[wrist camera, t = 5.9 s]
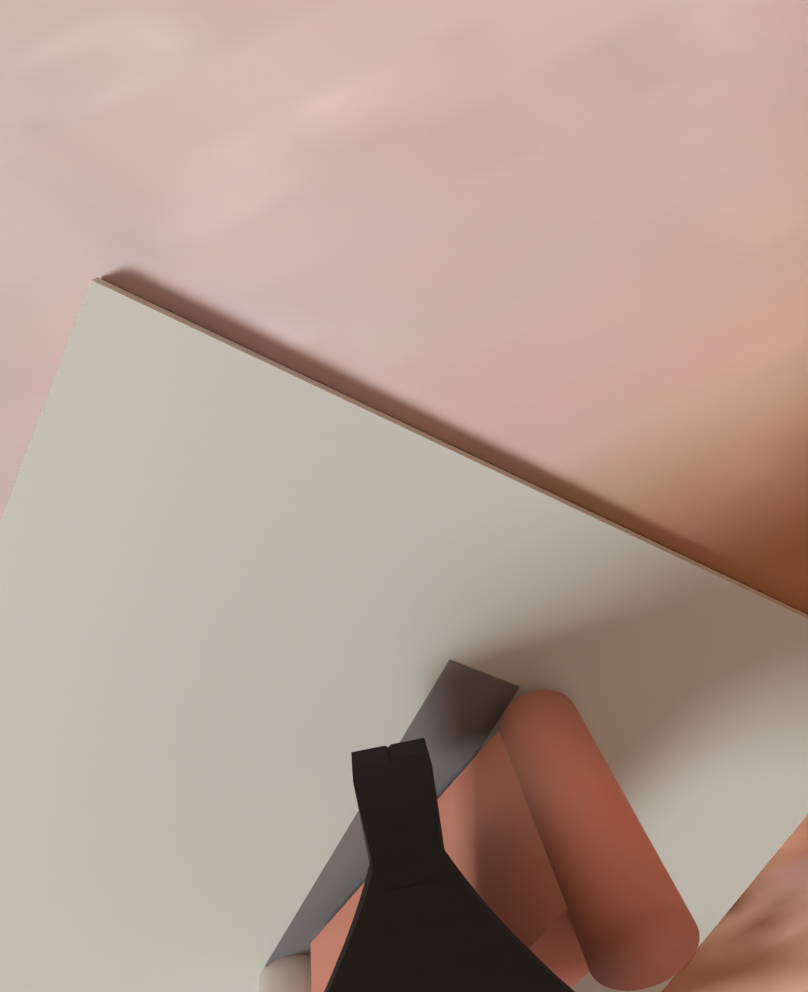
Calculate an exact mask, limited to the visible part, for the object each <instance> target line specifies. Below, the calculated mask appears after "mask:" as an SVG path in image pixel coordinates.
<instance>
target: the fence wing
mask: <svg viewBox="0 0 808 992" xmlns="http://www.w3.org/2000/svg"><path fill="white" fill-rule="evenodd" d="M437 801H438V808H439V815H440V822H441V829H442V836H443V842H444V849H445V851H446V852H447V854H448V855H449V857H450V858H451V859H452V861H453V862H454V864H455V865H456V866H457V868H458V869H459V870H460V872H461V873H462V874H463V876H464V877H465V878H466V879H467V881H468V882H469V883H470V885H471V886H472V887H473V888H474V890H475V891H476V892H477V893H478V894H479V896H480V897H481V898H482V899H483V900H484V901H485V903H486V904H487V905H488V906H489V907H490V908H491V910H492V911H493V912H494V913H495V914H496V915H497V916H498V917H499V918H500V920H501V921H502V922H503V923H504V924H505V925H506V926H507V927H508V928H509V929H510V931H511V932H512V933H513V934H514V935H515V936H516V937H517V938H518V939H519V940H520V941H521V942H522V943H523V944H524V945H525V946H527V947H528V948H529V949H530V950H531V951H532V952H533V953H534V954H535V955H536V956H537V957H538V958H539V959H540V960H541V961H542V962H543V963H544V964H545V965H546V966H547V967H548V968H549V969H550V970H551V971H552V972H553V973H554V974H555V975H557V976H558V977H559V978H560V979H561V980H562V981H563V982H565V983H566V984H567V985H568V986H569V987H570V988H571V989H572V988H573V987H574V986H575V985H576V984H577V983H578V982H579V981H580V980H581V979H582V978H583V977H584V976H585V975H586V974H587V973H588V972H589V971H590V973H591V975H592V977H593V978H594V979H595V980H596V981H597V982H599V983H600V984H601V985H603V986H605V987H608V988H611V989H615V990H621V991H633V990H641V989H646V988H649V987H652V986H655V985H658V984H660V983H662V982H664V981H666V980H668V979H670V978H671V977H673V976H674V975H676V974H677V973H678V972H680V971H681V970H682V969H683V968H684V967H685V966H686V965H687V964H688V963H689V962H690V960H691V959H692V957H693V956H694V954H695V952H696V950H697V948H698V944H699V938H700V936H699V929H698V926H697V924H696V922H695V920H694V919H693V917H692V915H691V913H690V911H689V910H688V908H687V906H686V904H685V902H684V901H683V899H682V897H681V895H680V893H679V892H678V890H677V888H676V886H675V884H674V883H673V881H672V879H671V877H670V875H669V874H668V872H667V870H666V868H665V866H664V865H663V863H662V861H661V859H660V857H659V856H658V854H657V852H656V850H655V848H654V847H653V845H652V843H651V841H650V839H649V838H648V836H647V834H646V832H645V830H644V829H643V827H642V825H641V823H640V821H639V820H638V818H637V816H636V814H635V812H634V811H633V809H632V807H631V805H630V803H629V802H628V800H627V798H626V796H625V795H624V793H623V791H622V789H621V787H620V786H619V784H618V782H617V780H616V778H615V777H614V775H613V773H612V771H611V769H610V768H609V766H608V764H607V762H606V760H605V759H604V757H603V755H602V753H601V751H600V750H599V748H598V746H597V744H596V742H595V741H594V739H593V737H592V735H591V733H590V732H589V730H588V728H587V726H586V724H585V723H584V721H583V719H582V717H581V715H580V714H579V712H578V710H577V708H576V706H575V705H574V703H573V702H572V700H571V699H570V698H569V697H567V696H566V695H564V694H562V693H560V692H557V691H553V690H537V691H532V692H529V693H526V694H524V695H522V696H520V697H519V698H517V699H516V700H514V701H513V702H512V703H511V704H510V705H509V706H508V707H507V708H506V710H505V711H504V713H503V714H502V717H501V719H500V723H499V730H498V732H497V733H496V734H495V735H494V736H493V737H492V738H491V739H490V741H489V742H488V743H487V744H486V745H485V746H484V747H483V749H482V750H481V751H480V752H479V753H478V754H477V755H476V756H475V758H474V759H473V760H472V761H471V762H470V763H469V764H468V766H467V767H466V768H465V769H464V770H463V771H462V772H461V773H460V775H459V776H458V777H457V778H456V779H455V780H454V781H453V782H452V784H451V785H450V786H449V787H448V788H447V789H446V790H445V792H444V793H443V794H442V795H441V796H440V797H439V798H438V799H437ZM364 883H365V882H364ZM364 883H363V884H362V886H361V887H360V888H359V889H358V890H357V891H356V892H355V893H354V895H353V896H352V897H351V898H350V899H349V900H348V901H347V903H346V904H345V905H344V906H343V907H342V908H341V909H340V910H339V912H338V913H337V914H336V915H335V916H334V917H333V918H332V920H331V921H330V922H329V923H328V924H327V925H326V926H325V927H324V929H323V930H322V931H321V932H320V933H319V934H318V935H317V937H316V938H315V939H314V940H313V941H312V942H311V992H324V991H325V988H326V986H327V984H328V982H329V979H330V977H331V975H332V972H333V970H334V967H335V965H336V962H337V960H338V957H339V955H340V952H341V950H342V948H343V945H344V943H345V940H346V937H347V935H348V932H349V929H350V926H351V923H352V921H353V918H354V915H355V912H356V909H357V906H358V903H359V900H360V896H361V893H362V890H363V887H364Z"/></svg>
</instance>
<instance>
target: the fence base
mask: <svg viewBox="0 0 808 992" xmlns="http://www.w3.org/2000/svg"><path fill="white" fill-rule="evenodd" d="M258 992H311V956H307V955H291V956H286V957H282V958H280V959H277V960H275V961H274V962H272V963H270V964H269V965H268V966H267V967H264V968H263V970H262V971H261V973H260V976H259V983H258Z"/></svg>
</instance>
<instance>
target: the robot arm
mask: <svg viewBox="0 0 808 992" xmlns="http://www.w3.org/2000/svg"><path fill="white" fill-rule="evenodd" d="M351 757H352V774H353V784H354V789H355V794H356V799H357V804H358V809H359V814H360V819H361V824H362V829H363V834H364V839H365V844H366V849H367V854H368V859H369V868H368V872H367V876H366V880H365V883H364V887H363V890H362V893H361V896H360V900H359V903H358V906H357V909H356V912H355V915H354V918H353V921H352V923H351V926H350V929H349V932H348V935H347V937H346V940H345V943H344V945H343V948H342V950H341V952H340V955H339V957H338V960H337V962H336V965H335V967H334V970H333V972H332V975H331V977H330V979H329V982H328V984H327V986H326V988H325V991H324V992H575V991H574V990H573V989H571V988H570V987H569V986H568V985H567V984H566V983H565V982H563V981H562V980H561V979H560V978H559V977H558V976H557V975H555V974H554V973H553V972H552V971H551V970H550V969H549V968H548V967H547V966H546V965H545V964H544V963H543V962H542V961H541V960H540V959H539V958H538V957H537V956H536V955H535V954H534V953H533V952H532V951H531V950H530V949H529V948H528V947H527V946H525V945H524V944H523V943H522V942H521V941H520V940H519V939H518V938H517V937H516V936H515V935H514V934H513V933H512V932H511V931H510V929H509V928H508V927H507V926H506V925H505V924H504V923H503V922H502V921H501V920H500V918H499V917H498V916H497V915H496V914H495V913H494V912H493V911H492V910H491V908H490V907H489V906H488V905H487V904H486V903H485V901H484V900H483V899H482V898H481V897H480V896H479V894H478V893H477V892H476V891H475V890H474V888H473V887H472V886H471V885H470V883H469V882H468V881H467V879H466V878H465V877H464V876H463V874H462V873H461V872H460V870H459V869H458V868H457V866H456V865H455V864H454V862H453V861H452V859H451V858H450V857H449V855H448V854H447V852H446V851H445V849H444V842H443V836H442V829H441V822H440V815H439V808H438V801H437V794H436V788H435V781H434V774H433V767H432V763H431V759H430V756H429V752H428V749H427V745H426V742H425V739H424V738H420V739H415V740H410V741H405V742H400V743H395V744H391V745H390V746H389V747H387V746H380V747H375V748H370V749H365V750H360V751H355V752H351Z"/></svg>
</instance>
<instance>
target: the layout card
mask: <svg viewBox="0 0 808 992" xmlns="http://www.w3.org/2000/svg"><path fill="white" fill-rule="evenodd" d="M537 690H553V691H557V692H560V693H562V694H564V695H566V696H567V697H569V698H570V699H571V700H572V702H573V703H574V705H575V706H576V708H577V710H578V712H579V714H580V715H581V717H582V719H583V721H584V723H585V724H586V726H587V728H588V730H589V732H590V733H591V735H592V737H593V739H594V741H595V742H596V744H597V746H598V748H599V750H600V751H601V753H602V755H603V757H604V759H605V760H606V762H607V764H608V766H609V768H610V769H611V771H612V773H613V775H614V777H615V778H616V780H617V782H618V784H619V786H620V787H621V789H622V791H623V793H624V795H625V796H626V798H627V800H628V802H629V803H630V805H631V807H632V809H633V811H634V812H635V814H636V816H637V818H638V820H639V821H640V823H641V825H642V827H643V829H644V830H645V832H646V834H647V836H648V838H649V839H650V841H651V843H652V845H653V847H654V848H655V850H656V852H657V854H658V856H659V857H660V859H661V861H662V863H663V865H664V866H665V868H666V870H667V872H668V874H669V875H670V877H671V879H672V881H673V883H674V884H675V886H676V888H677V890H678V892H679V893H680V895H681V897H682V899H683V901H684V902H685V904H686V906H687V908H688V910H689V911H690V913H691V915H692V917H693V919H694V920H695V922H696V924H697V926H698V929H699V936H700V938H699V944H698V947H699V946H700V945H701V943H702V942H703V941H704V940H705V938H706V937H707V936H708V935H709V934H710V932H711V931H712V930H713V929H714V928H715V926H716V925H717V924H718V923H719V921H720V920H721V919H722V918H723V917H724V915H725V914H726V913H727V912H728V910H729V909H730V908H731V907H732V906H733V904H734V903H735V902H736V901H737V900H738V898H739V897H740V896H741V895H742V893H743V892H744V891H745V890H746V889H747V887H748V886H749V885H750V884H751V882H752V881H753V880H754V879H755V878H756V876H757V875H758V874H759V873H760V872H761V870H762V869H763V868H764V867H765V865H766V864H767V863H768V862H769V861H770V859H771V858H772V857H773V856H774V854H775V853H776V852H777V851H778V850H779V848H780V847H781V846H782V845H783V844H784V842H785V841H786V840H787V839H788V837H789V836H790V835H791V834H792V833H793V831H794V830H795V829H796V828H797V826H798V825H799V824H800V823H801V822H802V820H803V819H804V818H805V817H806V816H807V814H808V615H807V614H805V613H803V612H801V611H799V610H797V609H795V608H793V607H790V606H788V605H786V604H784V603H782V602H780V601H778V600H776V599H774V598H771V597H769V596H767V595H765V594H763V593H761V592H759V591H757V590H755V589H753V588H750V587H748V586H746V585H744V584H742V583H740V582H738V581H736V580H734V579H731V578H729V577H727V576H725V575H723V574H721V573H719V572H717V571H715V570H712V569H710V568H708V567H706V566H704V565H702V564H700V563H698V562H696V561H694V560H691V559H689V558H687V557H685V556H683V555H681V554H679V553H677V552H675V551H672V550H670V549H668V548H666V547H664V546H662V545H660V544H658V543H656V542H654V541H651V540H649V539H647V538H645V537H643V536H641V535H639V534H637V533H635V532H632V531H630V530H628V529H626V528H624V527H622V526H620V525H618V524H616V523H614V522H611V521H609V520H607V519H605V518H603V517H601V516H599V515H597V514H595V513H592V512H590V511H588V510H586V509H584V508H582V507H580V506H578V505H576V504H574V503H571V502H569V501H567V500H565V499H563V498H561V497H559V496H557V495H555V494H552V493H550V492H548V491H546V490H544V489H542V488H540V487H538V486H536V485H534V484H531V483H529V482H527V481H525V480H523V479H521V478H519V477H517V476H515V475H512V474H510V473H508V472H506V471H504V470H502V469H500V468H498V467H496V466H494V465H491V464H489V463H487V462H485V461H483V460H481V459H479V458H477V457H475V456H472V455H470V454H468V453H466V452H464V451H462V450H460V449H458V448H456V447H453V446H451V445H449V444H447V443H445V442H443V441H441V440H439V439H437V438H435V437H432V436H430V435H428V434H426V433H424V432H422V431H420V430H418V429H416V428H413V427H411V426H409V425H407V424H405V423H403V422H401V421H399V420H397V419H395V418H392V417H390V416H388V415H386V414H384V413H382V412H380V411H378V410H376V409H373V408H371V407H369V406H367V405H365V404H363V403H361V402H359V401H357V400H355V399H352V398H350V397H348V396H346V395H344V394H342V393H340V392H338V391H336V390H333V389H331V388H329V387H327V386H325V385H323V384H321V383H319V382H317V381H315V380H312V379H310V378H308V377H306V376H304V375H302V374H300V373H298V372H296V371H293V370H291V369H289V368H287V367H285V366H283V365H281V364H279V363H277V362H275V361H272V360H270V359H268V358H266V357H264V356H262V355H260V354H258V353H256V352H253V351H251V350H249V349H247V348H245V347H243V346H241V345H239V344H237V343H235V342H232V341H230V340H228V339H226V338H224V337H222V336H220V335H218V334H216V333H213V332H211V331H209V330H207V329H205V328H203V327H201V326H199V325H197V324H194V323H192V322H190V321H188V320H186V319H184V318H182V317H180V316H178V315H176V314H173V313H171V312H169V311H167V310H165V309H163V308H161V307H159V306H157V305H154V304H152V303H150V302H148V301H146V300H144V299H142V298H140V297H138V296H136V295H133V294H131V293H129V292H127V291H125V290H123V289H121V288H119V287H117V286H114V285H112V284H110V283H108V282H106V281H104V280H102V279H100V278H96V279H93V280H91V282H90V285H89V287H88V290H87V293H86V295H85V298H84V301H83V303H82V306H81V308H80V311H79V314H78V316H77V319H76V322H75V324H74V327H73V330H72V332H71V335H70V338H69V340H68V343H67V346H66V348H65V351H64V354H63V356H62V359H61V362H60V364H59V367H58V369H57V372H56V375H55V377H54V380H53V383H52V385H51V388H50V391H49V393H48V396H47V399H46V401H45V404H44V407H43V409H42V412H41V415H40V417H39V420H38V423H37V425H36V428H35V430H34V433H33V436H32V438H31V441H30V444H29V446H28V449H27V452H26V454H25V457H24V460H23V462H22V465H21V468H20V470H19V473H18V476H17V478H16V481H15V484H14V486H13V489H12V491H11V494H10V497H9V499H8V502H7V505H6V507H5V510H4V513H3V515H2V518H1V521H0V992H258V983H259V976H260V973H261V971H262V970H263V968H264V967H267V966H268V965H269V964H270V963H272V962H274V961H275V960H277V959H280V958H282V957H286V956H291V955H307V956H311V942H312V941H313V940H314V939H315V938H316V937H317V935H318V934H319V933H320V932H321V931H322V930H323V929H324V927H325V926H326V925H327V924H328V923H329V922H330V921H331V920H332V918H333V917H334V916H335V915H336V914H337V913H338V912H339V910H340V909H341V908H342V907H343V906H344V905H345V904H346V903H347V901H348V900H349V899H350V898H351V897H352V896H353V895H354V893H355V892H356V891H357V890H358V889H359V888H360V887H361V886H362V884H363V883H364V882H365V880H366V876H367V872H368V868H369V859H368V854H367V849H366V844H365V839H364V834H363V829H362V824H361V819H360V814H359V809H358V804H357V799H356V794H355V789H354V784H353V774H352V757H351V752H355V751H360V750H365V749H370V748H375V747H380V746H387V747H389V746H390V745H391V744H395V743H400V742H405V741H410V740H415V739H420V738H424V739H425V742H426V745H427V749H428V752H429V756H430V759H431V763H432V767H433V774H434V781H435V788H436V794H437V799H438V798H439V797H440V796H441V795H442V794H443V793H444V792H445V790H446V789H447V788H448V787H449V786H450V785H451V784H452V782H453V781H454V780H455V779H456V778H457V777H458V776H459V775H460V773H461V772H462V771H463V770H464V769H465V768H466V767H467V766H468V764H469V763H470V762H471V761H472V760H473V759H474V758H475V756H476V755H477V754H478V753H479V752H480V751H481V750H482V749H483V747H484V746H485V745H486V744H487V743H488V742H489V741H490V739H491V738H492V737H493V736H494V735H495V734H496V733H497V732H498V730H499V723H500V719H501V717H502V714H503V713H504V711H505V710H506V708H507V707H508V706H509V705H510V704H511V703H512V702H513V701H514V700H516V699H517V698H519V697H520V696H522V695H524V694H526V693H529V692H532V691H537ZM674 976H675V975H674ZM674 976H673V977H674ZM673 977H671V978H670V979H668V980H666V981H664V982H662V983H660V984H658V985H655V986H652V987H649V988H646V989H641V990H633V991H621V990H615V989H611V988H608V987H605V986H603V985H601V984H600V983H599V982H597V981H596V980H595V979H594V978H593V977H592V975H591V973H590V971H589V972H588V973H587V974H586V975H585V976H584V977H583V978H582V979H581V980H580V981H579V982H578V983H577V984H576V985H575V986H574V987H573V988H572V989H573V990H574V991H575V992H662V991H663V990H664V988H665V987H666V986H667V985H668V984H669V982H670V981H671V980H672V979H673Z"/></svg>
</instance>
